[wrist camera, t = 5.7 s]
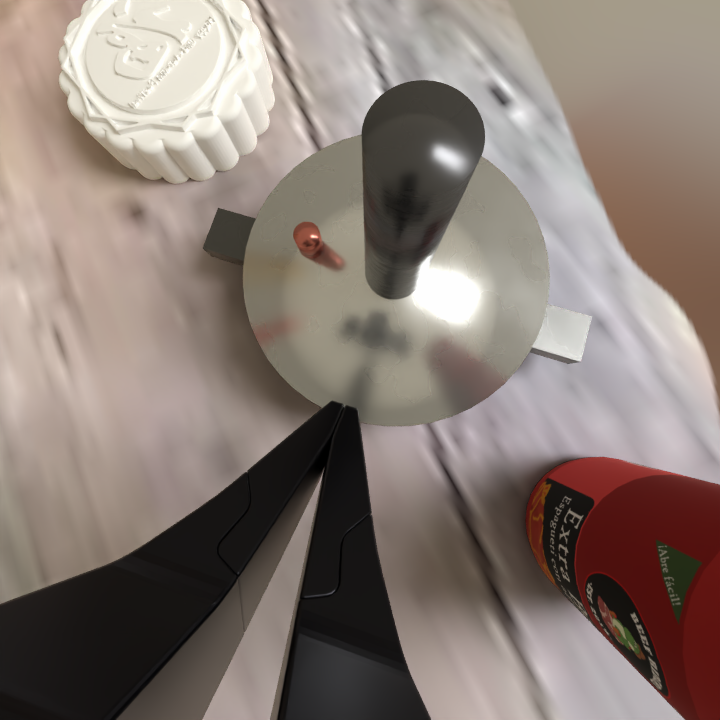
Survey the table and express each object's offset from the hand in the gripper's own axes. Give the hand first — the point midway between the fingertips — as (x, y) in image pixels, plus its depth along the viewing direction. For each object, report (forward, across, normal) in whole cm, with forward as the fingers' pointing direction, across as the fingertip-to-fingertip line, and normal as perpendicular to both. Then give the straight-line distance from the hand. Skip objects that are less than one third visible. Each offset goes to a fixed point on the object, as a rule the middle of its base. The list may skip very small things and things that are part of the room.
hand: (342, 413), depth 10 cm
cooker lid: (+9, 0, -1) cm, 9 cm away
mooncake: (+18, +17, -5) cm, 25 cm away
